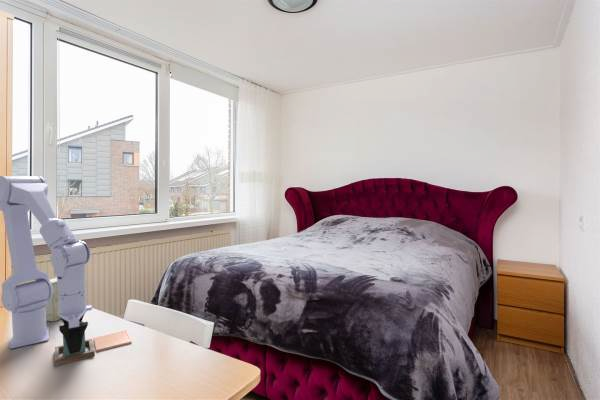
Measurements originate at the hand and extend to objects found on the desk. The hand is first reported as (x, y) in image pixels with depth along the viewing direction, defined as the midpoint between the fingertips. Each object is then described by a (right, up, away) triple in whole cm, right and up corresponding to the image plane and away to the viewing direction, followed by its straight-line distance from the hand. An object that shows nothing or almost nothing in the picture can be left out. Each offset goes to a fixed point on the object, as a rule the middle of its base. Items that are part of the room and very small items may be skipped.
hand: (74, 345), depth 85 cm
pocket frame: (0, -2, 0) cm, 2 cm away
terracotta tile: (+6, -2, +7) cm, 9 cm away
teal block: (0, -2, 0) cm, 2 cm away
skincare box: (-20, -1, +23) cm, 30 cm away
